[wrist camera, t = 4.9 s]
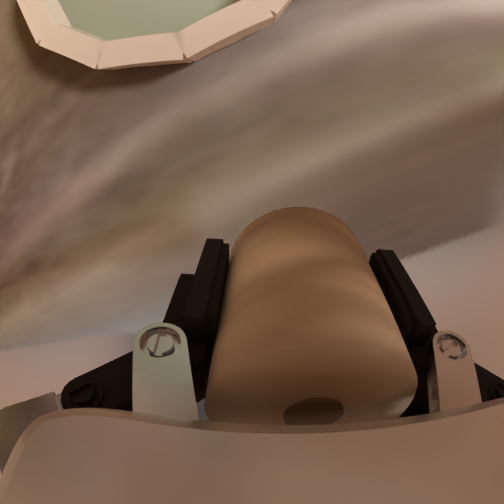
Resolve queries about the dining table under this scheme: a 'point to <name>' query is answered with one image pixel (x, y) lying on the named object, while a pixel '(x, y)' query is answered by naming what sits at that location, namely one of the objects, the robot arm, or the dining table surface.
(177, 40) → the round tray
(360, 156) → the dining table surface
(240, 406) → the maple bead
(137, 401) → the robot arm
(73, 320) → the dining table surface
